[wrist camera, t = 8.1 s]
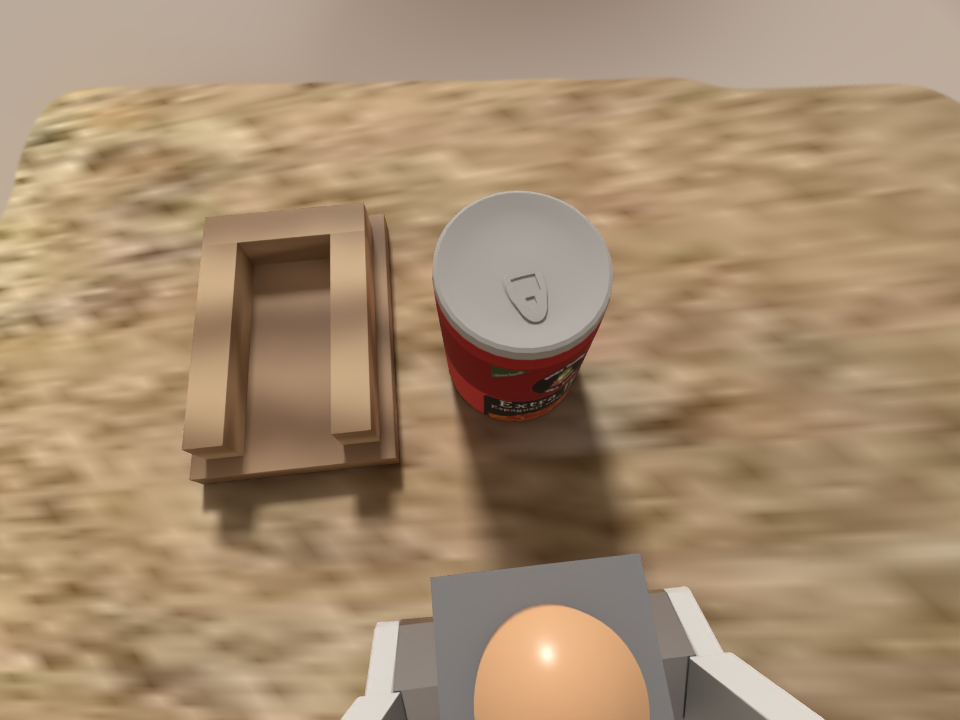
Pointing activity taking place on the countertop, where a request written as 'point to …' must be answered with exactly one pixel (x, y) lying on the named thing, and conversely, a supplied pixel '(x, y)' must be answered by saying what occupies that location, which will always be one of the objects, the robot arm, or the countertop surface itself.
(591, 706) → the block with orange ball
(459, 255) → the canned food
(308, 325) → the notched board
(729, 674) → the robot arm
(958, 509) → the countertop surface
